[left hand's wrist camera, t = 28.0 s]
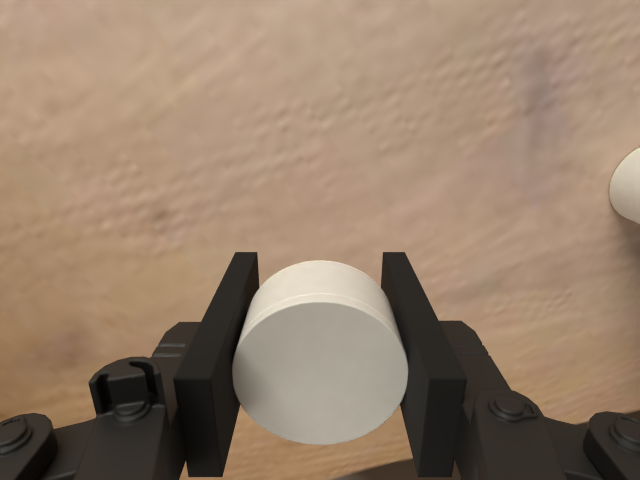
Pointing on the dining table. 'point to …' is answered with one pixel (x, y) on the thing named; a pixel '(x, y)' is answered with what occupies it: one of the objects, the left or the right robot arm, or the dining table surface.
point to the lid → (320, 355)
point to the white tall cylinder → (627, 187)
